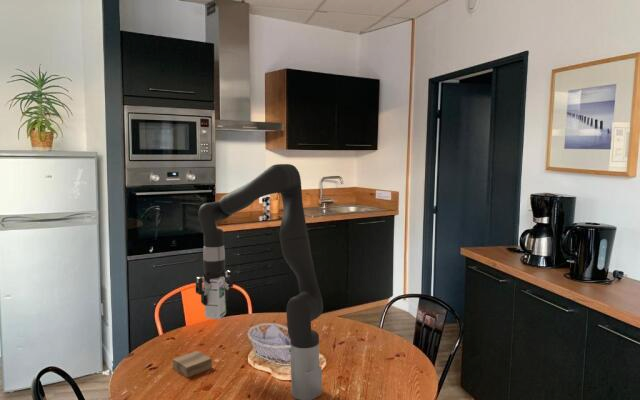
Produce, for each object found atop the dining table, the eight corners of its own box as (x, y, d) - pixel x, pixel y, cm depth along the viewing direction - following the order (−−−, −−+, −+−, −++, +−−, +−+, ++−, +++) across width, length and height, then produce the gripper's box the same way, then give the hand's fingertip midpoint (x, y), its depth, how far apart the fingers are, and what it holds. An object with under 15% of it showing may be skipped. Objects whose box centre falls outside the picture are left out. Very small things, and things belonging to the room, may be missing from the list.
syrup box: (219, 319, 168) (219, 279, 166) (204, 318, 169) (203, 278, 167) (226, 314, 173) (225, 275, 172) (211, 312, 175) (210, 274, 173)
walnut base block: (211, 369, 173) (211, 358, 173) (187, 378, 166) (186, 367, 166) (197, 360, 180) (196, 350, 180) (173, 369, 173) (172, 358, 173)
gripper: (202, 263, 161) (203, 309, 163) (237, 256, 171) (237, 300, 173) (190, 259, 166) (191, 304, 168) (225, 252, 176) (226, 295, 178)
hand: (215, 302), depth 171 cm, fingers closed on syrup box, 8 cm apart
